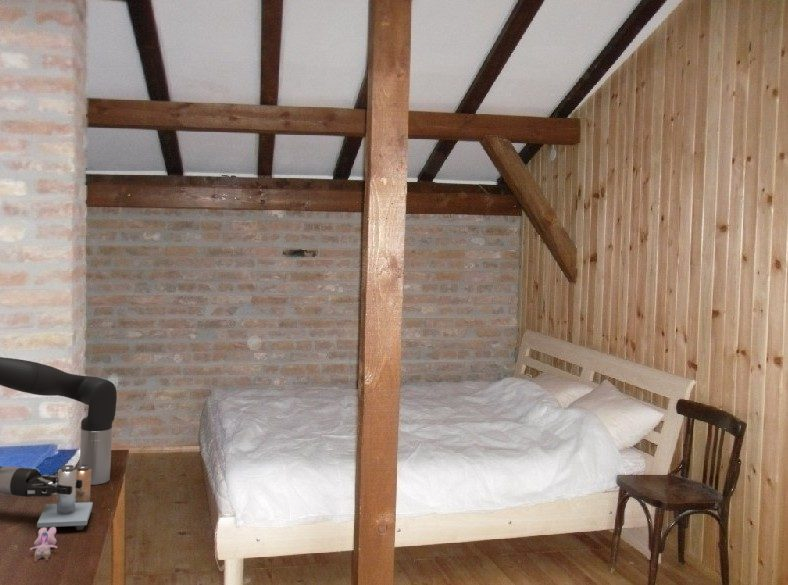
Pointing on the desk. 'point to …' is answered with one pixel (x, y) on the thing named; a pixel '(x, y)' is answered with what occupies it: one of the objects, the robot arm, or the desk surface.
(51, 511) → the grey square platform
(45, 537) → the rabbit figure
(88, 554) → the desk surface
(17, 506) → the desk surface
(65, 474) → the steel canister
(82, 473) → the copper canister
